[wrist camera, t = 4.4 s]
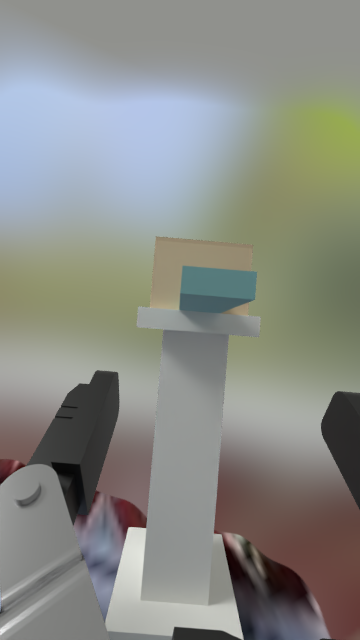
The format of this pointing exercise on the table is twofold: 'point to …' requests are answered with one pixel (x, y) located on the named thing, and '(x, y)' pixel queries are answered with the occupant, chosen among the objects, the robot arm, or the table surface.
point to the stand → (181, 489)
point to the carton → (202, 276)
